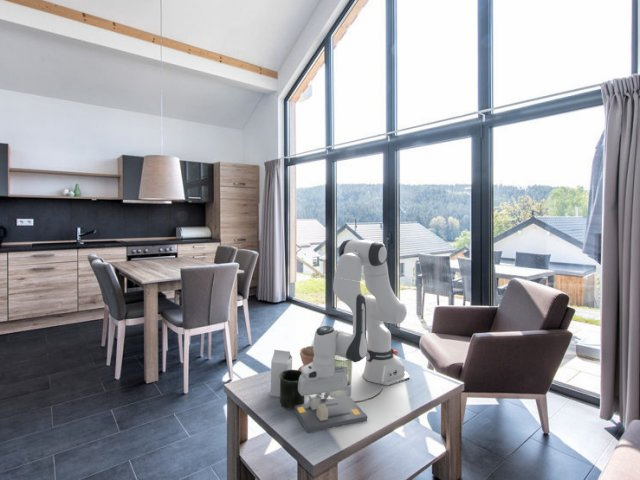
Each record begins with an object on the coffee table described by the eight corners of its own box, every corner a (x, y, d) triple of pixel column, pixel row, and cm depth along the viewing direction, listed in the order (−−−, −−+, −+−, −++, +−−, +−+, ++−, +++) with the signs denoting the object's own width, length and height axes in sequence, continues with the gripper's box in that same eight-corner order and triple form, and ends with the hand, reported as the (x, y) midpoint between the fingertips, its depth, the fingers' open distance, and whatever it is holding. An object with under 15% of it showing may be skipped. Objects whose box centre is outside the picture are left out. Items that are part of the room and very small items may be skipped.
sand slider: (323, 413, 143) (324, 403, 142) (327, 419, 139) (328, 409, 139) (316, 415, 142) (316, 405, 141) (320, 420, 138) (320, 410, 138)
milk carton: (286, 398, 158) (287, 354, 157) (270, 396, 160) (271, 352, 158) (291, 390, 165) (292, 348, 164) (276, 388, 167) (277, 346, 165)
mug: (284, 413, 147) (285, 383, 146) (272, 396, 160) (272, 368, 159) (309, 407, 152) (310, 378, 151) (295, 391, 165) (296, 364, 164)
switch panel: (348, 400, 158) (349, 395, 158) (367, 421, 143) (367, 415, 143) (294, 410, 149) (294, 405, 149) (307, 433, 134) (308, 427, 134)
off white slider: (315, 403, 150) (316, 393, 150) (319, 408, 146) (319, 398, 146) (308, 404, 149) (309, 395, 149) (312, 409, 145) (312, 400, 145)
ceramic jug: (288, 377, 178) (289, 348, 176) (312, 369, 187) (313, 341, 186) (313, 393, 164) (314, 362, 163) (337, 383, 174) (338, 353, 172)
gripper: (344, 362, 154) (343, 394, 156) (296, 368, 147) (295, 402, 148) (351, 368, 149) (349, 401, 150) (302, 375, 141) (301, 410, 142)
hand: (322, 402), depth 149 cm, fingers closed
